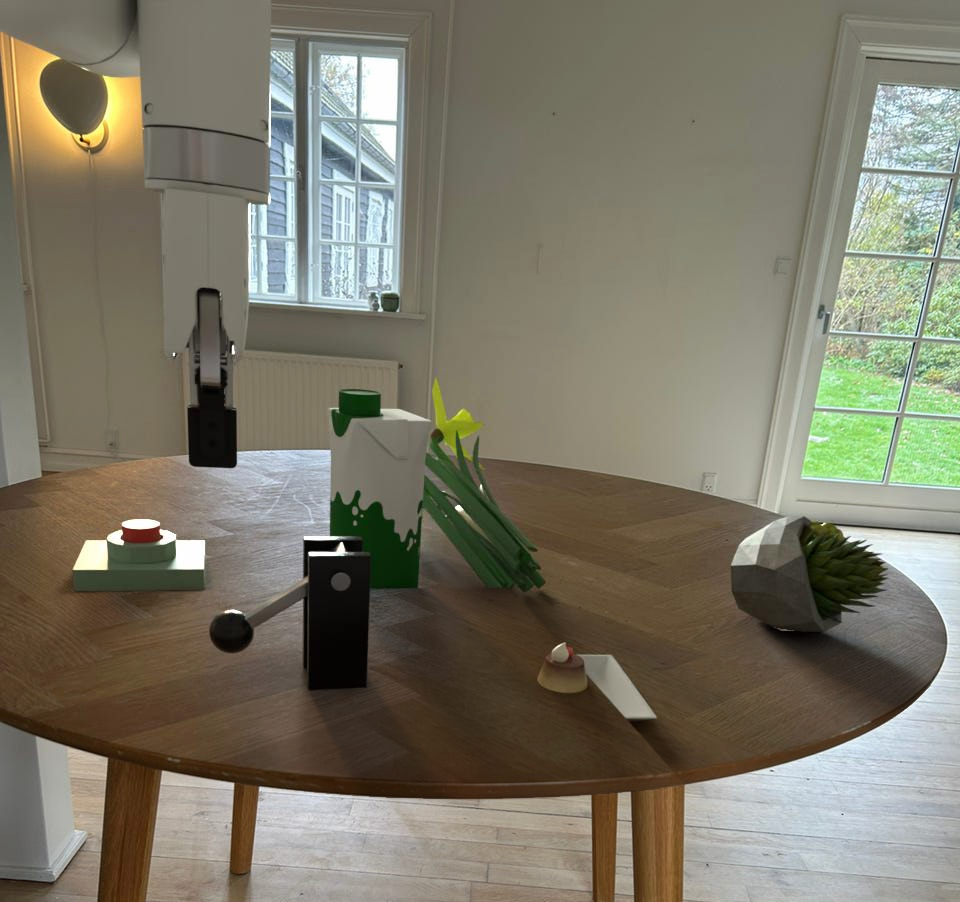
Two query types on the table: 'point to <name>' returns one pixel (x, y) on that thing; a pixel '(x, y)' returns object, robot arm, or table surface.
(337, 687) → the bracket
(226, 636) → the lever
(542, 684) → the dessert
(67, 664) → the table surface
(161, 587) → the control block
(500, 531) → the daffodil flowers
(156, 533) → the button
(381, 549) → the milk carton
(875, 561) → the potted plant
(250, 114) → the robot arm
